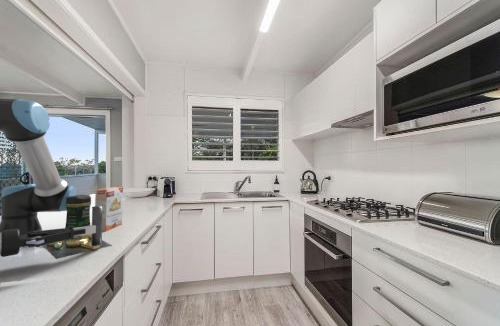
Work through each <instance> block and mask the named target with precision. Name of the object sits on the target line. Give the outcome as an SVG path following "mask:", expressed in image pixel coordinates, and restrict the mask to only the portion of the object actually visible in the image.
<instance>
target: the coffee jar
mask: <svg viewBox="0 0 500 326" xmlns="http://www.w3.org/2000/svg"><path fill="white" fill-rule="evenodd" d="M91 205H92V197H91V196H90V195H89V194H76V195H75V196H70V197H68V198H67V199H66V208H67V211H66V217H65V221H66V222H65V227H64V228H70V226H72V229H73V228H78V227H84V226H91V214H90V212H91V211H90V209H91Z"/></svg>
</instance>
